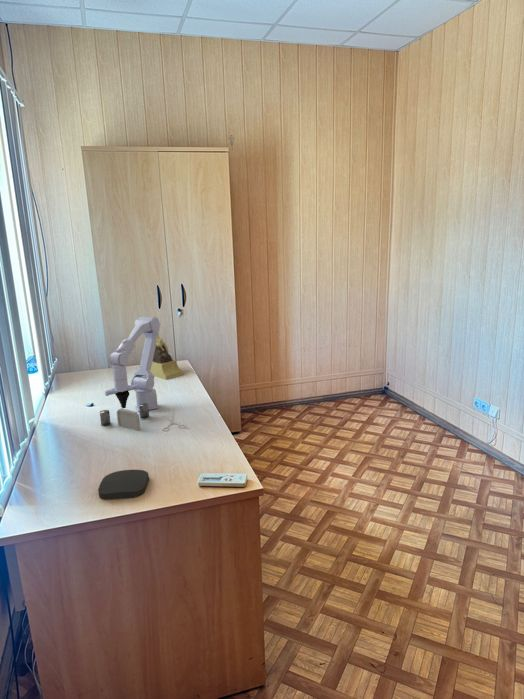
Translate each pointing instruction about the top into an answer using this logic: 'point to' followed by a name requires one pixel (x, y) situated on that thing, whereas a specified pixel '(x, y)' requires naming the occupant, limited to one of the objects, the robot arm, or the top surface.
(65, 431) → the top surface
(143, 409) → the post
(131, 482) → the media streaming box
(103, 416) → the post
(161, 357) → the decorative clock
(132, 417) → the light switch
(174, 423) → the scissors
